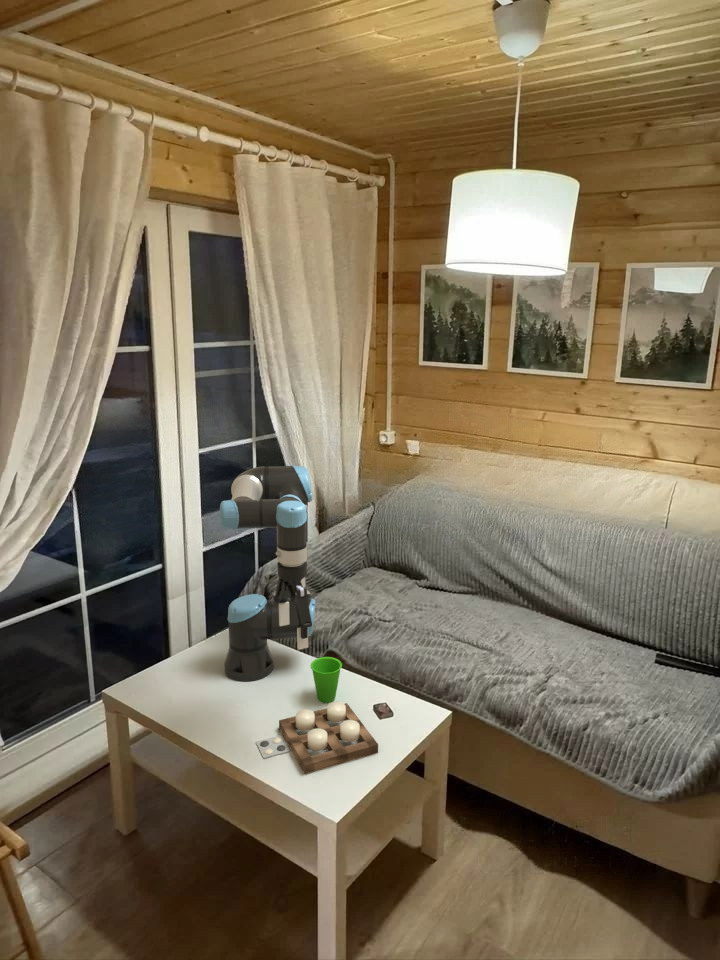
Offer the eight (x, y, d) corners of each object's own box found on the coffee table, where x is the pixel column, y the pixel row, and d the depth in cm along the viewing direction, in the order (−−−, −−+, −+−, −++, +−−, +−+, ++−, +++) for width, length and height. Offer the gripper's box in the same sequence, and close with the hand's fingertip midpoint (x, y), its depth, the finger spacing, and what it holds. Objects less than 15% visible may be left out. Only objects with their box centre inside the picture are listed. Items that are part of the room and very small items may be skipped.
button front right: (304, 741, 175) (304, 731, 174) (323, 736, 177) (323, 726, 176) (311, 753, 170) (311, 742, 169) (330, 747, 172) (330, 737, 171)
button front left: (337, 732, 178) (337, 722, 177) (354, 728, 180) (354, 718, 179) (344, 743, 174) (344, 733, 173) (362, 738, 176) (362, 728, 175)
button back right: (293, 722, 182) (293, 712, 182) (310, 717, 184) (310, 707, 184) (299, 732, 178) (299, 722, 177) (317, 727, 180) (317, 718, 179)
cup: (337, 709, 193) (338, 674, 191) (307, 705, 195) (306, 671, 192) (345, 692, 202) (345, 658, 199) (315, 688, 204) (315, 655, 201)
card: (255, 742, 179) (255, 741, 178) (281, 736, 181) (281, 734, 181) (263, 759, 172) (263, 757, 172) (290, 751, 175) (290, 750, 175)
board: (279, 728, 185) (279, 720, 184) (346, 710, 193) (346, 703, 192) (304, 774, 167) (304, 765, 166) (378, 752, 175) (378, 744, 175)
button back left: (324, 714, 186) (324, 704, 185) (341, 709, 188) (341, 700, 187) (331, 724, 182) (331, 714, 181) (348, 719, 184) (348, 709, 183)
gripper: (262, 547, 183) (264, 618, 189) (296, 582, 162) (297, 662, 168) (288, 542, 187) (289, 613, 193) (325, 577, 165) (325, 655, 171)
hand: (293, 636), depth 180 cm, fingers open, 13 cm apart
